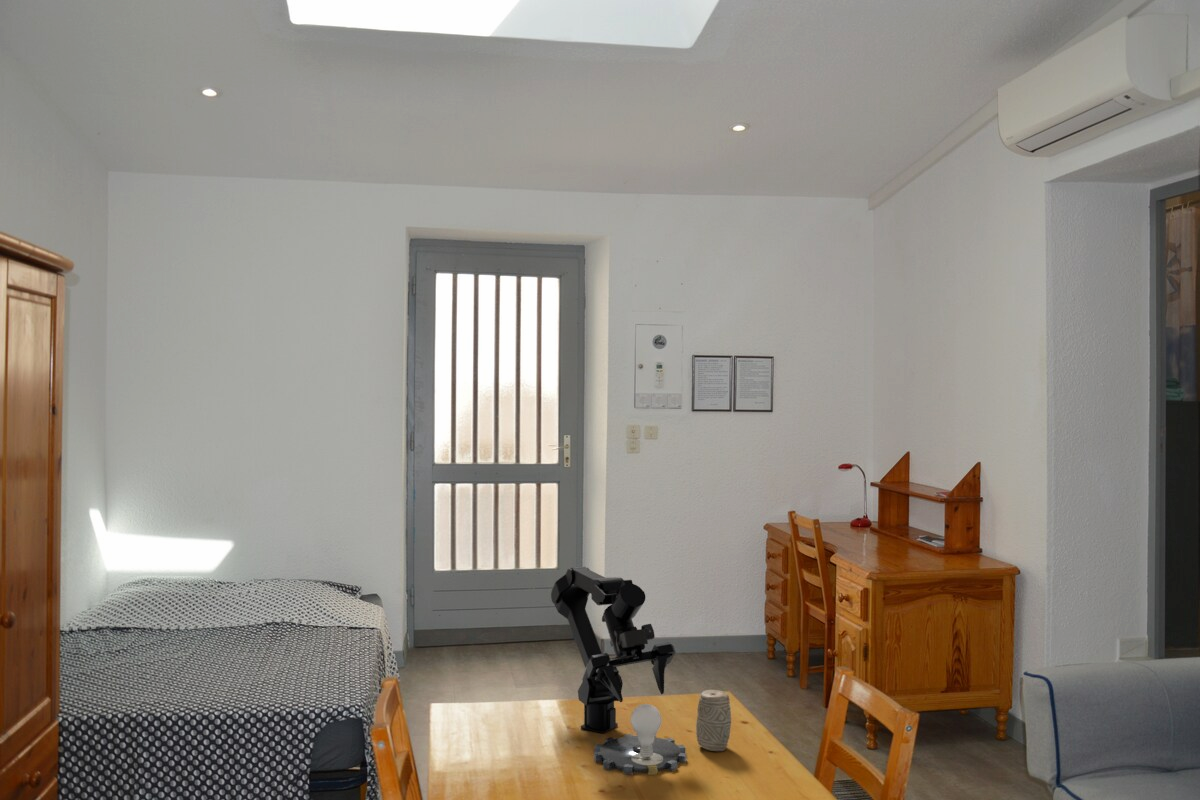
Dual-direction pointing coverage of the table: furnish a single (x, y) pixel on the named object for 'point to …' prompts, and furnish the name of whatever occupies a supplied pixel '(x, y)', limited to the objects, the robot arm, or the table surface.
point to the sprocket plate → (628, 757)
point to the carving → (713, 720)
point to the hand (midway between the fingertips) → (642, 697)
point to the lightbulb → (646, 727)
